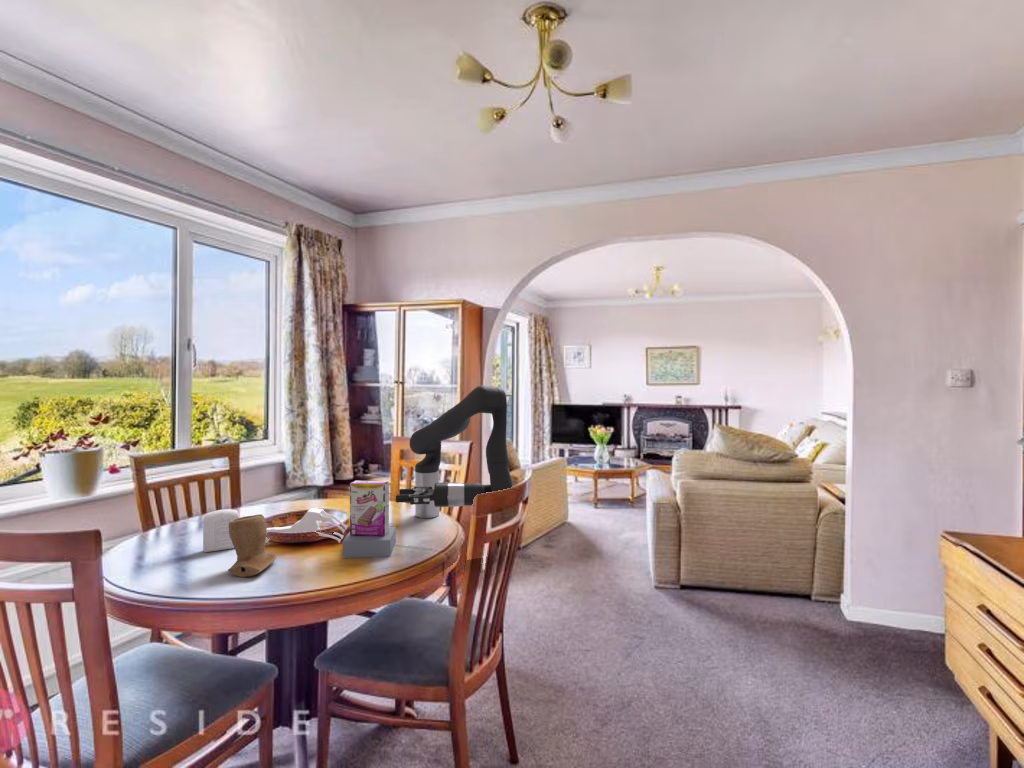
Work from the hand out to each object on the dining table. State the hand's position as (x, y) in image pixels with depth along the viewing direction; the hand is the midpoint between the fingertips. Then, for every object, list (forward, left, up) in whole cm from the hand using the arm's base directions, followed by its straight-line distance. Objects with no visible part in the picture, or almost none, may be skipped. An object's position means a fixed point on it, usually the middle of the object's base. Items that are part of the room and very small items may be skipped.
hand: (397, 495), depth 171 cm
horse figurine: (-11, -32, -17) cm, 38 cm away
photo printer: (-6, -56, -17) cm, 58 cm away
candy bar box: (0, -9, -12) cm, 15 cm away
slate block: (0, -9, -17) cm, 19 cm away
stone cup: (+14, -40, -17) cm, 45 cm away
